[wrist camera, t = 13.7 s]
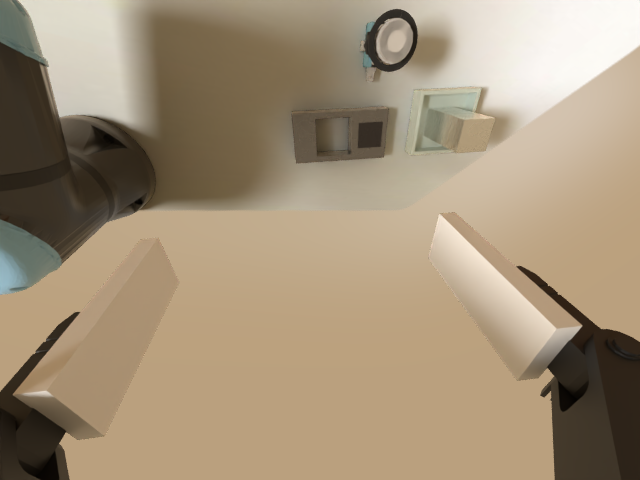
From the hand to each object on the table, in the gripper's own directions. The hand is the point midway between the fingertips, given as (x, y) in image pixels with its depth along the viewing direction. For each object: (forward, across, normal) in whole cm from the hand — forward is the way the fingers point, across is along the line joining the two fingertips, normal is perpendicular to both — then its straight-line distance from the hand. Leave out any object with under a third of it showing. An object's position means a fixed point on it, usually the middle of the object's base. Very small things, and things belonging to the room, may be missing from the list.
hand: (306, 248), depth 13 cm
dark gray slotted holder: (+33, +7, -2) cm, 34 cm away
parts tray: (+33, +23, -1) cm, 40 cm away
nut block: (+32, +23, -1) cm, 40 cm away
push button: (+33, +11, +8) cm, 36 cm away
